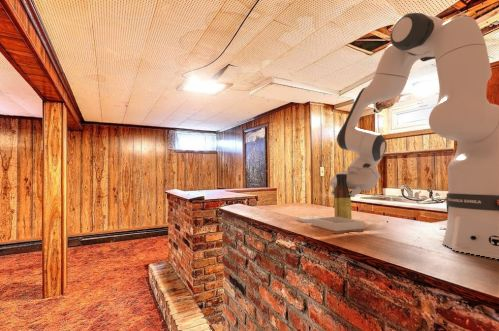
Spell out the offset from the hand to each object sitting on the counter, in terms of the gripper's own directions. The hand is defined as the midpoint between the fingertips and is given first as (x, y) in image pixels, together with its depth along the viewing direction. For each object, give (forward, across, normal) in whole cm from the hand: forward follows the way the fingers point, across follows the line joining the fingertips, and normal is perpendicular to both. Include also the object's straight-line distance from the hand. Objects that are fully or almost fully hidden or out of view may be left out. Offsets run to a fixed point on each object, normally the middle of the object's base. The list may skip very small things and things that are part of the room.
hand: (341, 195), depth 100 cm
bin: (+15, +8, +1) cm, 17 cm away
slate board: (+15, -6, +1) cm, 17 cm away
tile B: (+17, -5, -2) cm, 18 cm away
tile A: (+12, -5, +2) cm, 14 cm away
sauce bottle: (+8, 0, +9) cm, 12 cm away
